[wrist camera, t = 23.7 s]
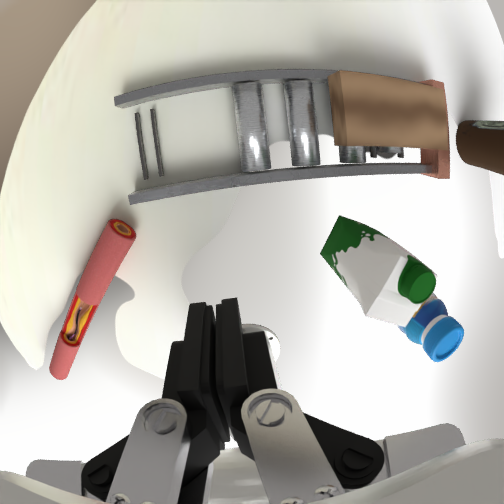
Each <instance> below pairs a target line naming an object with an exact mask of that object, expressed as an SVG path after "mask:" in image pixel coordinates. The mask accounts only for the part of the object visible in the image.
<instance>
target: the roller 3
mask: <svg viewBox="0 0 504 504" xmlns="http://www.w3.org/2000/svg"><path fill="white" fill-rule="evenodd" d="M339 156H340V162H341V163H365V162H366V152H365V146H339Z"/></svg>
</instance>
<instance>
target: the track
mask: <svg viewBox="0 0 504 504" xmlns="http://www.w3.org/2000/svg"><path fill="white" fill-rule="evenodd" d="M335 72H337V71H335V70H315V69H277V70H256V71H243V72H232V73H224V74H216V75H208V76H202V77H195V78H190V79H184V80H179V81H174V82H169V83H164V84H160V85H156V86H151V87H147V88H143V89H140V90H136V91H132V92H129V93H125V94H122V95H119V96H115V97H114V101H115V106H117V107H120V108H126V107H129V106H133V105H137V104H141V103H145V102H149V101H153V100H157V99H161V98H166V97H171V96H176V95H181V94H186V93H192V92H198V91H204V90H211V89H218V88H226V87H232V86H234V85H237V84H241V83H248V82H258V83H261V84H275V83H285V82H289V81H296V80H307V81H311V82H312V83H328V77H327V76H329V75H331V74H333V73H335ZM381 76H382V75H381ZM387 77H388V76H387ZM393 78H394V77H393ZM398 79H400V78H398ZM403 80H405V79H403ZM408 81H410V80H408ZM412 82H415V81H412ZM416 83H421V84H425V85H429V86H432V87H436V88H440V89H443V90H444V97H445V105H446V116H447V130H448V150H438V149H425V148H421V163H362V164H338V165H322V166H307V167H296V168H285V169H274V170H264V171H255V172H247V173H239V174H231V175H224V176H217V177H211V178H204V179H198V180H192V181H186V182H180V183H175V184H169V185H164V186H159V187H153V188H148V189H144V190H139V191H135V192H133V193H131V194H129V195H128V197H129V202H130V205H132V204H137V203H142V202H147V201H152V200H157V199H163V198H168V197H174V196H180V195H185V194H191V193H198V192H204V191H210V190H217V189H224V188H231V187H239V186H245V185H254V184H262V183H271V182H280V181H289V180H300V179H312V178H324V177H338V176H355V175H375V174H407V173H409V174H413V173H421V174H423V175H427V176H430V177H434V178H438V179H449V178H450V147H449V127H448V114H447V104H446V96H445V89H444V83H443V82H439V81H435V80H426V81H421V82H416ZM150 111H151V120H152V128H153V135H154V143H155V150H156V156H157V163H158V169H159V175H160V176H163V175H164V173H163V167H162V161H161V154H160V147H159V140H158V133H157V125H156V117H155V110H154V109H150ZM135 121H136V130H137V137H138V144H139V151H140V158H141V164H142V170H143V176H144V180H145V179H148V173H147V167H146V160H145V154H144V147H143V140H142V133H141V125H140V116H139V113H135ZM370 156H371V157H373V158H376V157H377V153H376V146H370ZM398 157H400V158H404V153H398Z"/></svg>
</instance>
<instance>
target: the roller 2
mask: <svg viewBox="0 0 504 504" xmlns="http://www.w3.org/2000/svg"><path fill="white" fill-rule="evenodd" d="M283 85H284V93H285V101H286V110H287V118H288V127H289V137H290V146H291V157H292V165H293V166H314V165H320V153H319V141H318V130H317V120H316V111H315V102H314V94H313V86H312V82H311V81H307V80H296V81H289V82H285V83H284V84H283Z"/></svg>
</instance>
